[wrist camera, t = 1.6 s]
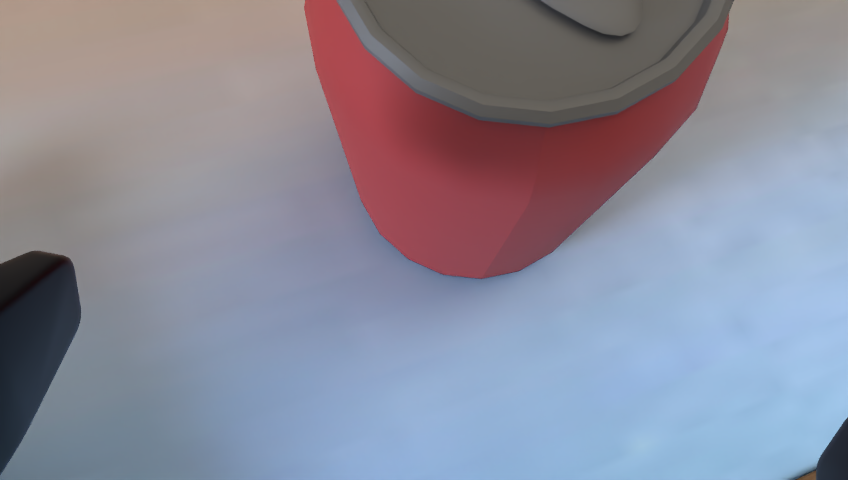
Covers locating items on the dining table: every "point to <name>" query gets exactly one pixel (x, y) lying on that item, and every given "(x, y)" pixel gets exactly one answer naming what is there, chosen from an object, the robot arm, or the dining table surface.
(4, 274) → the robot arm
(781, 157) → the dining table surface
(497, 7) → the beer can
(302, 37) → the dining table surface
